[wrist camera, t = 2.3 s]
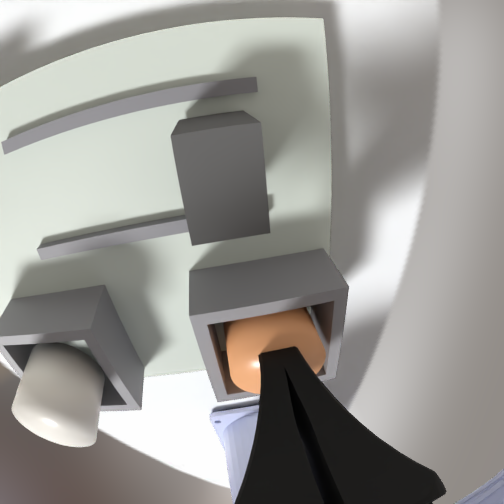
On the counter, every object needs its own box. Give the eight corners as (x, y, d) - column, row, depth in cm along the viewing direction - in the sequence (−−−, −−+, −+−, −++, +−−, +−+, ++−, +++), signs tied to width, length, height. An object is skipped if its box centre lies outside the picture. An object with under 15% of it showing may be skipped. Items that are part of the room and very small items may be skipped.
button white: (117, 391, 12) (111, 448, 10) (55, 393, 12) (44, 443, 9) (82, 338, 10) (65, 402, 8) (17, 343, 10) (-5, 398, 8)
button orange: (303, 333, 15) (322, 382, 12) (228, 348, 14) (236, 400, 12) (304, 273, 13) (329, 323, 10) (216, 289, 12) (222, 344, 10)
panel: (312, 322, 18) (339, 385, 14) (34, 358, 16) (15, 414, 12) (304, 26, 10) (359, 5, 6) (-66, 136, 8) (-125, 167, 4)
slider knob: (251, 192, 11) (270, 233, 8) (192, 201, 10) (191, 246, 8) (243, 110, 9) (261, 122, 7) (178, 119, 9) (170, 136, 6)
